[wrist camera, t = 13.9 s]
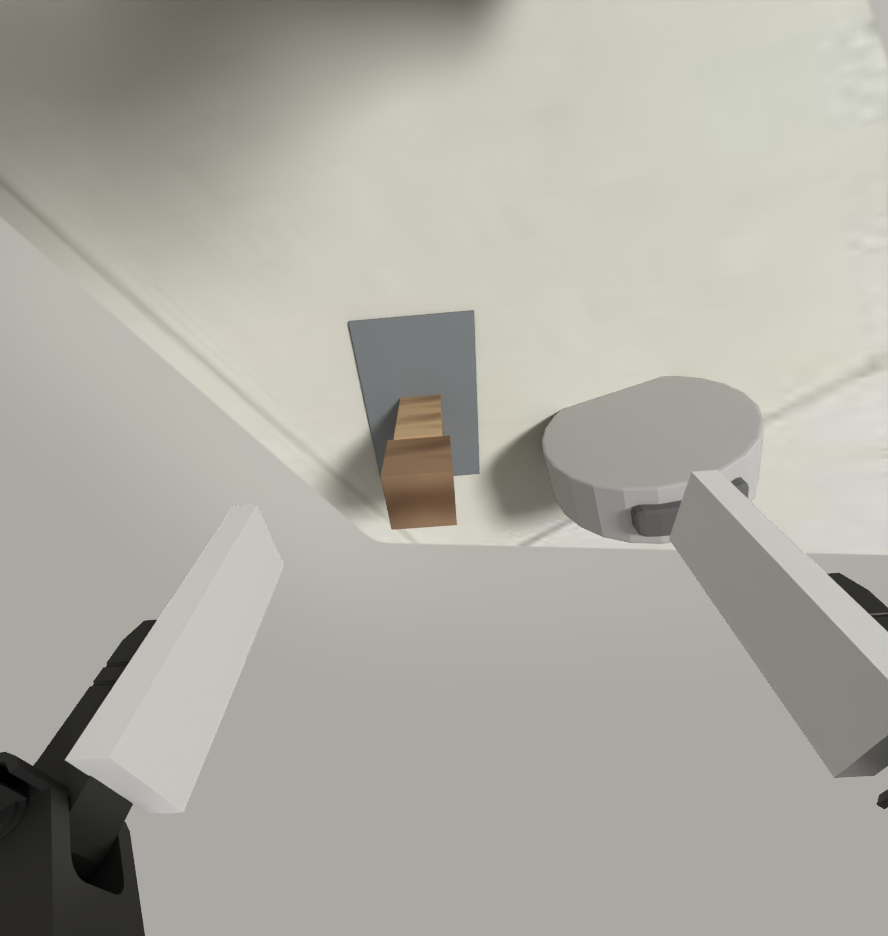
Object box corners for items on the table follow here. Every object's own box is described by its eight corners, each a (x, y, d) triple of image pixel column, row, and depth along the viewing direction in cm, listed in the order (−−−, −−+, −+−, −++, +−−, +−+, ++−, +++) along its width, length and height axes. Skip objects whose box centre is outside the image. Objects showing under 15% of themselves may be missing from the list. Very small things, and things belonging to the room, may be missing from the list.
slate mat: (349, 321, 44) (348, 322, 44) (473, 310, 44) (473, 311, 44) (381, 479, 57) (381, 481, 56) (479, 472, 56) (479, 473, 56)
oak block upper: (397, 415, 45) (393, 437, 41) (441, 412, 45) (441, 433, 41) (405, 466, 49) (402, 491, 45) (445, 463, 49) (446, 487, 45)
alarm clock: (541, 464, 56) (585, 574, 39) (528, 420, 52) (572, 522, 35) (700, 416, 52) (822, 515, 36) (700, 364, 48) (838, 449, 32)
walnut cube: (387, 440, 41) (380, 476, 36) (449, 435, 41) (452, 471, 35) (396, 489, 45) (391, 529, 39) (454, 485, 44) (456, 524, 39)
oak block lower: (400, 397, 49) (397, 415, 45) (440, 394, 49) (441, 412, 45) (407, 445, 53) (405, 466, 49) (444, 442, 53) (445, 463, 49)
